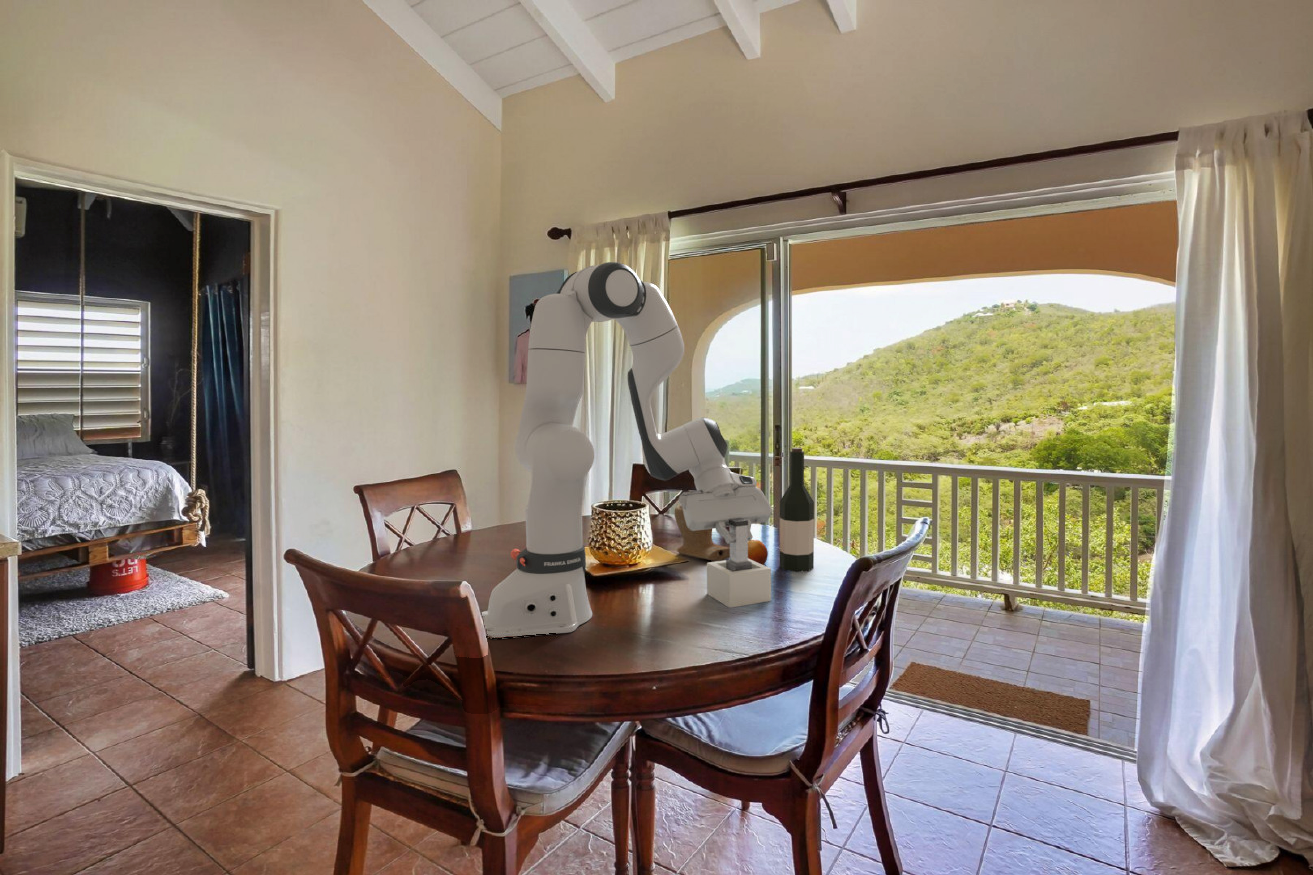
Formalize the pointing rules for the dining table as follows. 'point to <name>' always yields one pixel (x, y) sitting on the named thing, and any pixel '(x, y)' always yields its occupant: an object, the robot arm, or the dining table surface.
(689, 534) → the brown boot
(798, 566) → the wine bottle
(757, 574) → the holder
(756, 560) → the fruit
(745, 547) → the capped white pillar
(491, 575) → the dining table surface
